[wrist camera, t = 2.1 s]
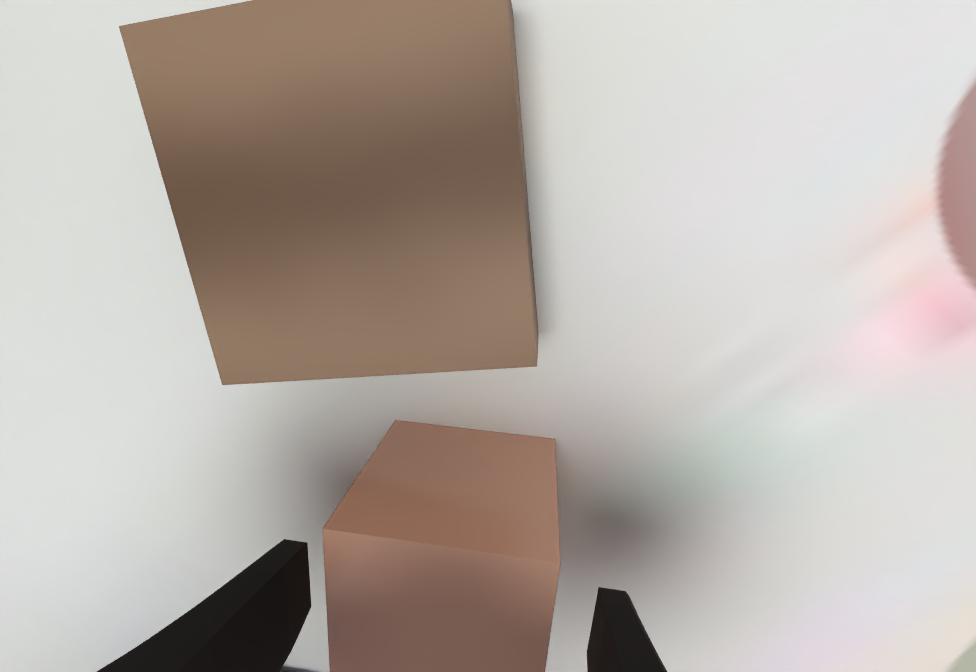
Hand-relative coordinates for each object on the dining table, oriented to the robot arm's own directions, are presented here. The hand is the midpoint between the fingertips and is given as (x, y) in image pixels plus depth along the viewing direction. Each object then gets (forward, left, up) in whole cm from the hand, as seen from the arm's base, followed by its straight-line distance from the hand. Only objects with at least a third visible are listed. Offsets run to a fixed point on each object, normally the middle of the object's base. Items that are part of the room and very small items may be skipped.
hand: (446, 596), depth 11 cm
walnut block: (+9, +3, -4) cm, 10 cm away
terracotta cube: (0, 0, -4) cm, 4 cm away
